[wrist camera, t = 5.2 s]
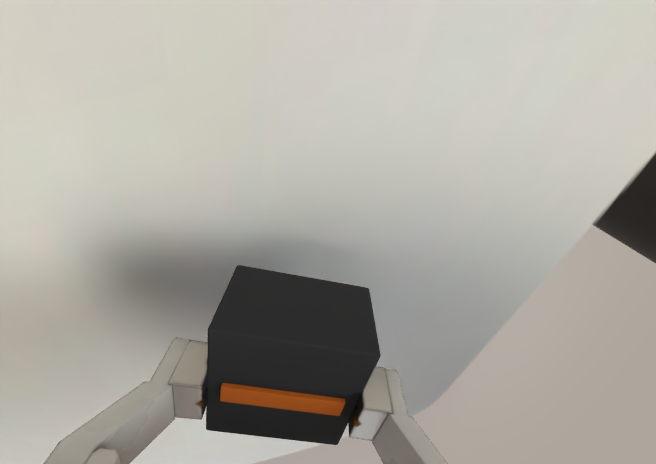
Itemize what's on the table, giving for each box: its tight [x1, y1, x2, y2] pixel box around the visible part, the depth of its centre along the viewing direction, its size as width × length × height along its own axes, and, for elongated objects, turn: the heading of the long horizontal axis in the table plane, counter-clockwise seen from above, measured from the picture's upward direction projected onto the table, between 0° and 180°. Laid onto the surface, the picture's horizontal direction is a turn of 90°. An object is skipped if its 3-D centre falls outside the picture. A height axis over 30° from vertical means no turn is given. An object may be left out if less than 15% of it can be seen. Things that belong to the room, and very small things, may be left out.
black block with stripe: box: [206, 265, 380, 445], centre depth 11 cm, size 5×6×3 cm
